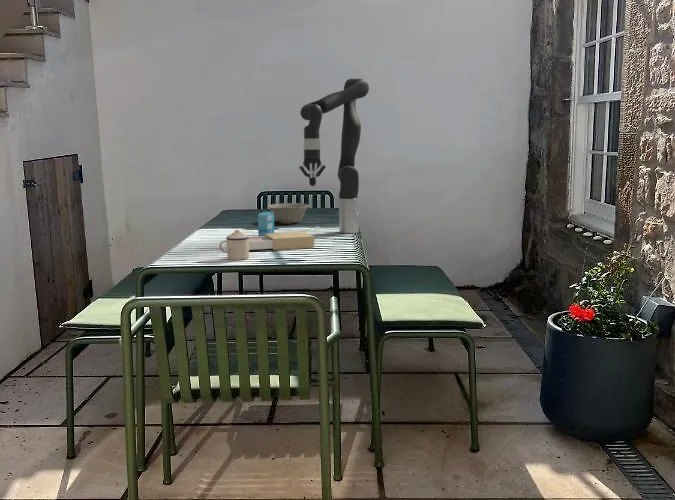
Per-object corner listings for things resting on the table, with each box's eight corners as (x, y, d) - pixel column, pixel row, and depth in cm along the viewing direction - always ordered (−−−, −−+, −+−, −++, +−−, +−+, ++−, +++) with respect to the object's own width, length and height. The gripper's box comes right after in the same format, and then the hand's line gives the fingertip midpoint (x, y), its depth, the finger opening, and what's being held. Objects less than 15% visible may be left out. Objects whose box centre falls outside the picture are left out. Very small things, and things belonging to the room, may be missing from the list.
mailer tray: (305, 240, 303) (305, 233, 302) (314, 245, 290) (314, 237, 290) (236, 245, 293) (236, 237, 292) (242, 250, 280) (242, 242, 279)
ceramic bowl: (260, 224, 365) (259, 206, 363) (284, 219, 384) (284, 202, 382) (292, 227, 353) (292, 208, 352) (316, 221, 373) (316, 204, 371)
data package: (267, 239, 312) (266, 214, 310) (258, 239, 313) (257, 214, 311) (274, 235, 324) (273, 211, 322) (265, 235, 325) (264, 211, 323)
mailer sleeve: (303, 242, 304) (303, 231, 303) (313, 247, 289) (313, 236, 288) (265, 244, 298) (265, 233, 297) (273, 250, 283) (273, 238, 283)
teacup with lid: (251, 256, 271) (250, 228, 269) (247, 260, 262) (246, 231, 260) (222, 256, 271) (220, 228, 269) (217, 260, 262) (216, 231, 260)
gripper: (323, 148, 312) (323, 184, 315) (296, 148, 308) (296, 185, 311) (328, 148, 305) (328, 186, 308) (300, 149, 301) (301, 187, 304)
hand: (312, 185), depth 309 cm, fingers closed
